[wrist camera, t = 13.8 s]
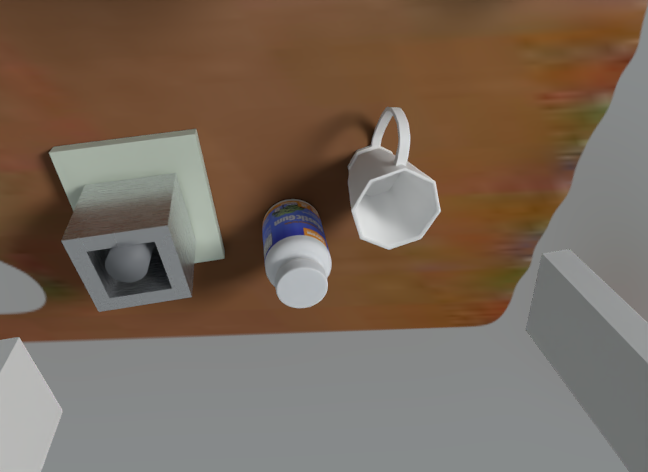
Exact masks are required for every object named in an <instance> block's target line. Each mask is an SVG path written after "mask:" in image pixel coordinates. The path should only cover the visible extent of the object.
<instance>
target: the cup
mask: <svg viewBox="0 0 648 472" xmlns="http://www.w3.org/2000/svg"><path fill="white" fill-rule="evenodd" d="M392 116H394V118H395V121H396V123H397V128H398V137H399V141H398V148H397V152H396V156H395V155H393V154H392V152H391V151H390V150H387V149H385V148H383V147H381V146H380V145H381V139H382V137H383V134H384V131H385V129H386V127H387V125H388V123H389V121H390V119H391V117H392ZM409 148H410V131H409V123H408V121H407V118H406V116H405V113H404V112H403V110H402V109H401V108H396V107H386V109H385V110H384V111H383V113H382V115H381V117H380V119H379V121H378V123H377V125H376V127H375V130H374V133H373V136H372V141H371V145H370V146H367V147H364V148H361V149H358V150H357V151H356V152H355V154H354V156H353V157H352V159H351V161H350V163H349V164H348V166H347V167H348V170H349V176H348V188H349V195H350V205H351V211H352V214H353V217H354V221H355V224H356V227H357V230H358V233H359V237H360V239H362V240H365V241H367V242H370V243H373V244H375V245H378V246H380V247H383V248H386V249H388V250H390V249H393V248H396V247H399V246H401V245H404V244H407V243H410V242H413V241H416V240H419V239H422V237H423V236H424V234H425V233H426V231H427V230H428V229H429V227H430V226H431V224H432V223H433V222H434V220H435V219H436V217H437V216H438V214H439V213H440V212H441V210H440V205H439V199H438V194H437V188H436V183H435V181H434V180H433V179H431V178H430V177H429V176H427V175H426V174H424V173H423V172H421V171H420V170H419V169H417V168H416V167H415V166H413V165H412V164H411V163H409V162H408V161H407V160H408V154H409Z"/></svg>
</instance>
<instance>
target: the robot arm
mask: <svg viewBox="0 0 648 472" xmlns="http://www.w3.org/2000/svg"><path fill="white" fill-rule="evenodd" d="M526 331H527V332H528V334H529V335H530V337H531V338H532V339H533V341H534V342H535V343H536V345H537V346H538V347H539V349H540V350H541V352H542V353H543V354H544V356H545V357H546V358H547V360H548V361H549V362H550V364H551V365H552V367H553V368H554V369H555V371H556V372H557V373H558V374H559V376H560V377H561V379H562V380H563V382H564V383H565V384H566V386H567V387H568V388H569V390H570V391H571V393H572V394H573V395H574V397H575V398H576V399H577V401H578V402H579V403H580V405H581V406H582V408H583V409H584V410H585V412H586V413H587V414H588V416H589V417H590V418H591V420H592V421H593V423H594V424H595V425H596V427H597V428H598V429H599V431H600V432H601V433H602V435H603V436H604V438H605V439H606V440H607V442H608V443H609V444H610V446H611V447H612V448H613V450H614V451H615V453H616V454H617V455H618V457H619V458H620V459H621V461H622V462H623V463H624V465H625V466H626V467H627V469H628V470H629V472H648V323H647V322H646V321H645V320H644V319H643V318H642V317H641V316H640V315H639V314H638V313H637V312H636V311H635V310H634V309H633V308H631V307H630V306H629V305H628V304H627V303H626V302H625V301H624V300H623V299H622V298H621V297H620V296H619V295H618V294H617V293H616V292H615V291H614V290H612V289H611V288H610V287H609V286H608V285H607V284H606V283H605V282H604V281H603V280H602V279H601V278H600V277H599V276H598V275H597V274H596V273H594V272H593V271H592V270H591V269H590V268H589V267H588V266H587V265H586V264H585V263H584V262H583V261H582V260H581V259H580V258H578V256H576V255H575V254H574V253H573V252H572V251H571V250H570V249H567V250H560V251H555V252H549V253H542V256H541V261H540V266H539V270H538V275H537V280H536V285H535V289H534V294H533V298H532V303H531V308H530V312H529V317H528V322H527V326H526ZM62 412H63V410H62V409H61V407H60V405H59V404H58V402H57V400H56V398H55V397H54V395H53V393H52V392H51V390H50V388H49V387H48V385H47V383H46V382H45V380H44V378H43V376H42V375H41V373H40V371H39V370H38V368H37V366H36V365H35V363H34V361H33V360H32V358H31V356H30V355H29V353H28V351H27V349H26V348H25V346H24V344H23V343H22V341H21V339H20V338H19V337H17V338H10V339H4V340H0V472H41V470H42V467H43V464H44V462H45V459H46V456H47V453H48V451H49V448H50V445H51V442H52V439H53V436H54V434H55V431H56V428H57V426H58V423H59V420H60V417H61V415H62Z"/></svg>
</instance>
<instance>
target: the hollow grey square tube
mask: <svg viewBox="0 0 648 472" xmlns="http://www.w3.org/2000/svg"><path fill="white" fill-rule="evenodd" d="M61 242H62V244H63V245H64V247H65V249H66V251H67V253H68V255H69V257H70V259H71V260H72V262H73V264H74V266H75V268H76V270H77V272H78V274H79V276H80V277H81V279H82V281H83V283H84V285H85V287H86V289H87V291H88V292H89V294H90V296H91V298H92V300H93V302H94V304H95V306H96V308H97V309H98V311H99V312H101V311H107V310H113V309H120V308H126V307H132V306H138V305H145V304H151V303H157V302H164V301H170V300H176V299H183V298H189V297H192V289H193V276H194V262H195V249H196V239H195V235H194V232H193V229H192V225H191V222H190V219H189V215H188V212H187V209H186V205H185V202H184V199H183V195H182V192H181V189H180V185H179V182H178V178H177V175H176V173H170V174H163V175H155V176H148V177H141V178H133V179H126V180H118V181H111V182H104V183H96V184H89V185H85V186H84V188H83V191H82V193H81V195H80V198H79V200H78V202H77V205H76V207H75V209H74V212H73V214H72V216H71V219H70V221H69V223H68V226H67V228H66V230H65V233H64V235H63V237H62V240H61ZM149 242H155V244H154V248H153V251H152V255H151V259H150V263H149V267H148V271H147V273H146V275H145V276H144V277H143V278H142V279H140V280H138V281H136V282H121V281H118V280H116V279H114V278H113V277H111V276H110V275H109V274H108V272H107V270H106V268H105V261H106V259H107V256H108V254H109V251H110V249H111V248H115V247H122V246H128V245H135V244H142V243H149Z"/></svg>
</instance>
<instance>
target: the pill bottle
mask: <svg viewBox="0 0 648 472" xmlns="http://www.w3.org/2000/svg"><path fill="white" fill-rule="evenodd" d="M262 230H263V246H264V260H265V270H266V274H267V277H268V279H269V281H270V282H271V283H272V284H273V285H274V286H275V287H276V293H277V296H278V298H279V299H280V300H281V302H283V303H284V304H286V305H288V306H290V307H294V308H306V307H310V306H313V305H315V304H317V303H318V302H319V301H321V300H322V299H323V297H324V296H325V294H326V292H327V289H328V282H327V277H328V276H329V274H330V271H331V257H330V253H329V249H328V246H327V242H326V238H325V234H324V231H323V227H322V223H321V219H320V216H319V214H318V212H317V211H316V209H315V208H314V207H313V206H312V205H310V204H309V203H307V202H305V201H302V200H298V199H287V200H283V201H280V202H278V203H276V204H275V205H273V206H272V207H271V208H270V209H269V210H268V212H267V213H266V215H265V217H264V220H263V226H262Z"/></svg>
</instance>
